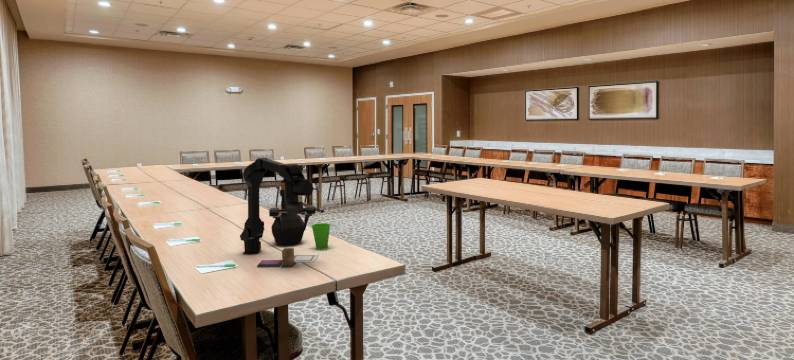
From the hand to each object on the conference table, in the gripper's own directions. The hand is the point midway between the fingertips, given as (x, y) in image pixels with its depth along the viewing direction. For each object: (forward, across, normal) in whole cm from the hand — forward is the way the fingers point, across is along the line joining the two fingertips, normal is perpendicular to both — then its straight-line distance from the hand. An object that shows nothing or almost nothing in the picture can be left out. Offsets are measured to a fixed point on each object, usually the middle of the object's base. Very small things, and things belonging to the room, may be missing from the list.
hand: (293, 231), depth 204 cm
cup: (+14, +13, +21) cm, 28 cm away
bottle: (+14, -3, +35) cm, 38 cm away
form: (+14, +4, +5) cm, 15 cm away
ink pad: (+14, -10, 0) cm, 17 cm away
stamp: (+14, -3, -4) cm, 14 cm away
